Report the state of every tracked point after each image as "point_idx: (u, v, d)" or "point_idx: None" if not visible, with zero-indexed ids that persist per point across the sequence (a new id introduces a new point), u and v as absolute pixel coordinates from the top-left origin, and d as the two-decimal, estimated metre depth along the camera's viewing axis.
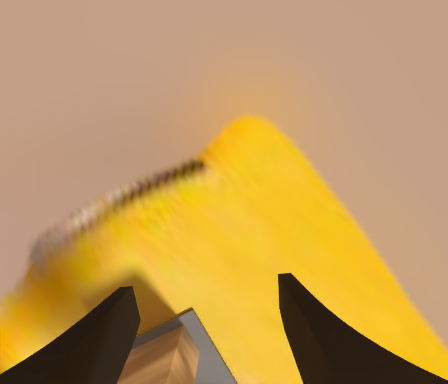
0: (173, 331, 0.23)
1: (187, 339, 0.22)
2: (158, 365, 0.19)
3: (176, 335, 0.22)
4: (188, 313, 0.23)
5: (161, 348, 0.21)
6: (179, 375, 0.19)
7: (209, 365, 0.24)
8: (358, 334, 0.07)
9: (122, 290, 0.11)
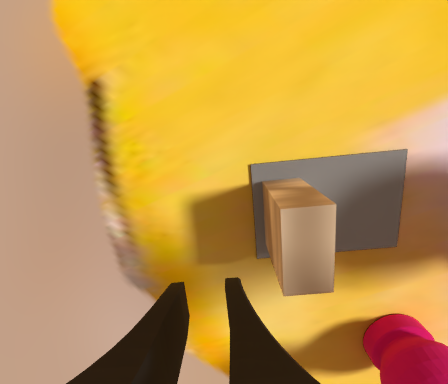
0: (263, 193, 0.20)
1: (276, 182, 0.20)
2: (271, 213, 0.17)
3: (264, 190, 0.20)
4: (252, 170, 0.20)
5: (267, 209, 0.19)
6: (289, 195, 0.16)
7: (320, 174, 0.20)
8: (272, 340, 0.07)
9: (175, 285, 0.11)
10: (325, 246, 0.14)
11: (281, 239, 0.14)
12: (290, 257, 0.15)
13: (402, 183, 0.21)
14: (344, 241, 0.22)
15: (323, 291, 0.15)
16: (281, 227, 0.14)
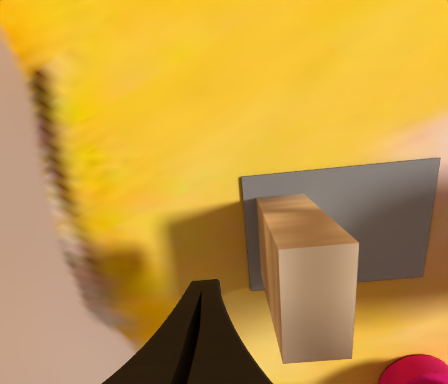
0: (257, 213, 0.16)
1: (273, 199, 0.16)
2: (267, 244, 0.13)
3: (258, 210, 0.15)
4: (243, 184, 0.16)
5: (262, 235, 0.15)
6: (291, 222, 0.12)
7: (329, 189, 0.16)
8: (238, 343, 0.07)
9: (197, 283, 0.11)
10: (342, 299, 0.10)
11: (279, 289, 0.10)
12: (293, 313, 0.10)
13: (431, 199, 0.16)
14: (358, 270, 0.18)
15: (338, 357, 0.11)
16: (279, 274, 0.10)
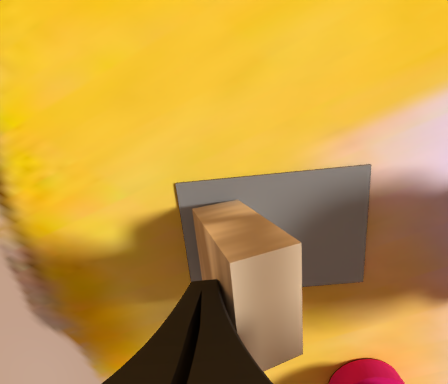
0: (195, 225, 0.15)
1: (210, 208, 0.15)
2: (211, 257, 0.12)
3: (197, 222, 0.14)
4: (178, 191, 0.16)
5: (203, 247, 0.14)
6: (234, 230, 0.12)
7: (263, 195, 0.16)
8: (238, 343, 0.07)
9: (197, 283, 0.11)
10: (291, 300, 0.10)
11: (233, 304, 0.10)
12: (248, 326, 0.10)
13: (365, 205, 0.16)
14: None
15: (291, 357, 0.11)
16: (232, 288, 0.09)
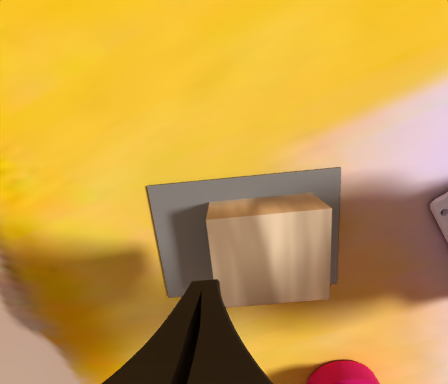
0: (214, 235, 0.14)
1: (219, 211, 0.14)
2: (277, 237, 0.14)
3: (227, 226, 0.13)
4: (150, 193, 0.16)
5: (244, 245, 0.14)
6: (281, 205, 0.14)
7: (234, 198, 0.16)
8: (238, 343, 0.07)
9: (197, 283, 0.11)
10: None
11: (329, 240, 0.14)
12: None
13: (337, 208, 0.17)
14: None
15: None
16: (330, 227, 0.14)
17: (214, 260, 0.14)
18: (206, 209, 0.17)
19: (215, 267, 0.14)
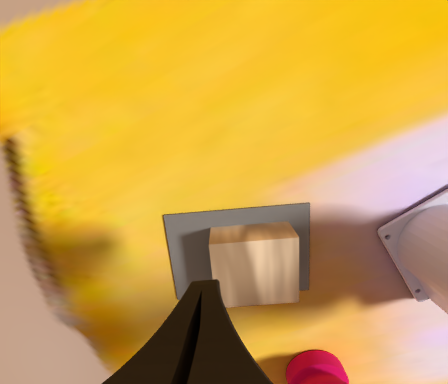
0: (214, 255, 0.19)
1: (218, 237, 0.20)
2: (260, 257, 0.19)
3: (224, 249, 0.19)
4: (165, 220, 0.21)
5: (236, 263, 0.19)
6: (264, 233, 0.20)
7: (230, 224, 0.22)
8: (238, 343, 0.07)
9: (197, 283, 0.11)
10: None
11: (297, 260, 0.19)
12: None
13: (307, 233, 0.22)
14: None
15: None
16: (298, 250, 0.19)
17: (214, 273, 0.19)
18: (208, 232, 0.22)
19: (215, 278, 0.19)
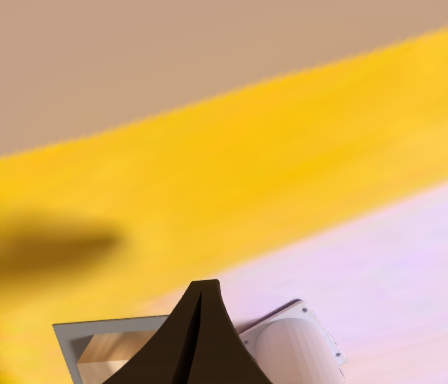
0: (83, 371, 0.22)
1: (90, 352, 0.23)
2: None
3: (90, 367, 0.22)
4: (55, 329, 0.25)
5: (102, 376, 0.23)
6: (129, 348, 0.23)
7: (110, 332, 0.25)
8: (238, 343, 0.07)
9: (197, 283, 0.11)
10: None
11: None
12: None
13: None
14: None
15: None
16: None
17: None
18: None
19: None
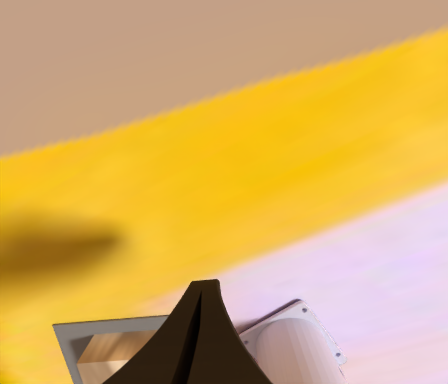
0: (83, 371, 0.22)
1: (90, 352, 0.23)
2: None
3: (90, 367, 0.22)
4: (55, 329, 0.25)
5: (102, 376, 0.23)
6: (129, 348, 0.23)
7: (110, 332, 0.25)
8: (238, 343, 0.07)
9: (197, 283, 0.11)
10: None
11: None
12: None
13: None
14: None
15: None
16: None
17: None
18: None
19: None
